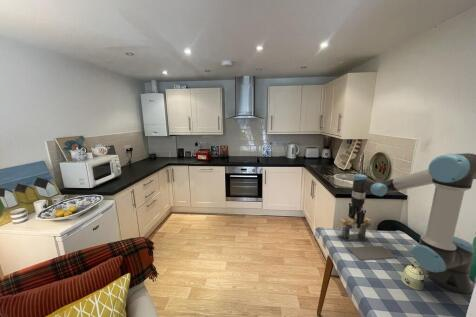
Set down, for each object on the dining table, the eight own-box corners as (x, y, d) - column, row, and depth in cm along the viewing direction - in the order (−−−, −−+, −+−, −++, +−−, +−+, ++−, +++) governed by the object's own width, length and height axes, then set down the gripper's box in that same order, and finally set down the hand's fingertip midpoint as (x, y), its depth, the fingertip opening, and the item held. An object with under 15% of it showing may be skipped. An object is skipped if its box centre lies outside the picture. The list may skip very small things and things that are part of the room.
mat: (382, 246, 124) (382, 245, 124) (398, 258, 114) (398, 257, 114) (347, 248, 122) (347, 247, 122) (360, 260, 111) (360, 259, 111)
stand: (361, 234, 138) (363, 220, 136) (368, 239, 132) (370, 225, 130) (338, 235, 136) (340, 221, 135) (344, 241, 130) (346, 226, 128)
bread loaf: (366, 223, 135) (367, 217, 135) (370, 226, 131) (371, 220, 131) (339, 224, 133) (339, 218, 133) (343, 227, 129) (343, 221, 129)
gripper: (344, 193, 137) (341, 224, 141) (362, 202, 120) (358, 237, 124) (354, 193, 138) (351, 223, 142) (373, 202, 121) (369, 236, 125)
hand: (354, 230), depth 133 cm, fingers closed on bread loaf, 4 cm apart
